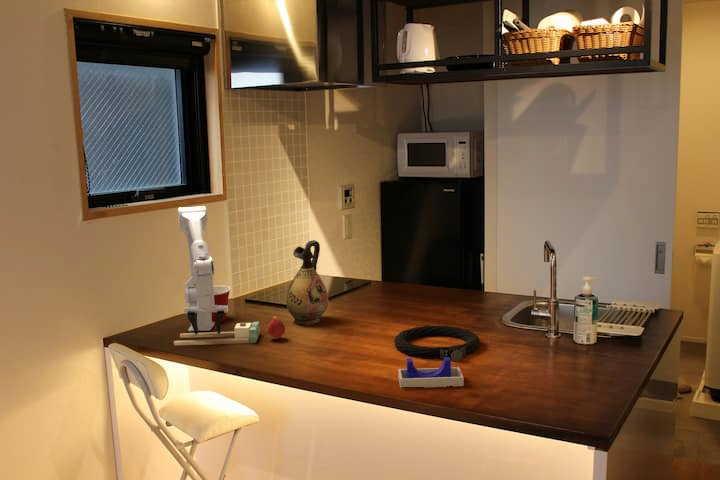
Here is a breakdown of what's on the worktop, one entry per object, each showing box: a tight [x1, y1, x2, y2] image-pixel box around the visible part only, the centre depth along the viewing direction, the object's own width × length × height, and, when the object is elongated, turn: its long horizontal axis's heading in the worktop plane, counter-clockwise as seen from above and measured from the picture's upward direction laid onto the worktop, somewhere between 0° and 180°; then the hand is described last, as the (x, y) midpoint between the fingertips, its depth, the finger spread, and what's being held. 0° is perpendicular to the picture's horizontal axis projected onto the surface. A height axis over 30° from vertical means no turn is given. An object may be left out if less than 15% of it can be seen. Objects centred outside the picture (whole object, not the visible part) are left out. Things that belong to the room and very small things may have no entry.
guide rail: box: [173, 321, 261, 346], centre depth 243 cm, size 10×27×4 cm, turn 91°
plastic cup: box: [212, 285, 232, 322], centre depth 268 cm, size 11×11×12 cm
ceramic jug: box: [285, 239, 329, 326], centre depth 261 cm, size 17×15×30 cm
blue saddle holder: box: [406, 357, 452, 379], centre depth 198 cm, size 12×4×6 cm, turn 91°
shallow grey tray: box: [397, 366, 465, 389], centre depth 197 cm, size 8×17×2 cm, turn 91°
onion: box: [267, 316, 286, 341], centre depth 241 cm, size 6×6×8 cm
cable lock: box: [393, 325, 481, 362], centre depth 228 cm, size 28×4×30 cm
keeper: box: [233, 321, 253, 339], centre depth 243 cm, size 6×5×5 cm
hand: (207, 333), depth 243 cm, fingers open, 7 cm apart
